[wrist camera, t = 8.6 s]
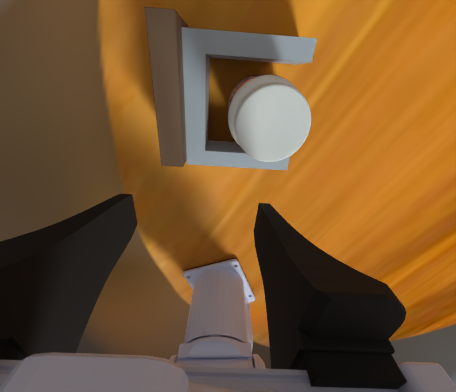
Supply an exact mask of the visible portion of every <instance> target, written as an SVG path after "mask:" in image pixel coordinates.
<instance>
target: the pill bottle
mask: <svg viewBox="0 0 456 392" xmlns="http://www.w3.org/2000/svg"><path fill="white" fill-rule="evenodd" d="M228 125H229V129H230V132H231V135H232V137H233V138H234V140H235V141H236V142H237V143H238V144H239V145H240V146H241V148H242V149H243V150H244V152H245V153H246V154H248V155H249V156H250V157H252V158H254V159H256V160H259V161H264V162H275V161H279V160H282V159H285V158H287V157H289V156H291V155H292V154H293V153H295V152H296V151H297V150H298V149H299V148H300V147H301V145H302V144H303V143H304V141H305V140H306V138H307V136H308V133H309V130H310V125H311V112H310V108H309V104H308V102H307V101H306V99H305V97H304V96H303V95H302V94H301V93H300V92H299V91H298V90H297V89H296V87H295V86H294V85H293V84H292V83H291V82H289V81H288V80H286V79H285V78H282V77H280V76H277V75H269V74H268V75H253V76H249V77H247V78H245V79H243V80H241V81H240V82H239V83H238V84H237V85H236V86H235V87H234V89H233V91H232V93H231V95H230V99H229V106H228Z"/></svg>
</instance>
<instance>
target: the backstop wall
mask: <svg viewBox="0 0 456 392" xmlns="http://www.w3.org/2000/svg"><path fill="white" fill-rule="evenodd" d="M145 15H146V25H147V34H148V43H149V53H150V62H151V72H152V81H153V90H154V100H155V109H156V118H157V128H158V137H159V147H160V156H161V165H162V166H177V167H183V166H184V164H185V162H186V160H187V153H186V127H185V101H184V76H183V50H182V27H186V28H189V27H188V25H187V24H186V23H185V22H184V20H183V19H182V18H181V17H180V15H179V14H178V13H177V12H176V10H174V9H163V8H151V7H145Z"/></svg>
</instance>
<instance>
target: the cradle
mask: <svg viewBox="0 0 456 392" xmlns="http://www.w3.org/2000/svg"><path fill="white" fill-rule="evenodd" d="M316 41H317V38H305V37H294V36H282V35H270V34H258V33H246V32H234V31H222V30H210V29H198V28H186V27H182V50H183V76H184V101H185V127H186V153H187V164H192V165H209V166H225V167H241V168H258V169H274V170H287V167H288V163H289V159H290V156H289V157H287V158H285V159H282V160H279V161H275V162H264V161H259V160H256V159H254V158H252V157H250V156H249V155H248V154H246V153H245V152H244V150H243V149H242V148H241V146H240V145H239V144H238V143H237V142H228V141H213V140H208V123H209V61H210V58H221V59H233V60H246V61H259V62H271V63H284V64H297V65H298V64H303V63H309V62H312V58H313V54H314V49H315V45H316Z"/></svg>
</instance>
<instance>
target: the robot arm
mask: <svg viewBox="0 0 456 392" xmlns="http://www.w3.org/2000/svg"><path fill="white" fill-rule="evenodd" d="M136 226H137V219H136V213H135V208H134V202H133V197H132V194H119V195H117V196H114V197H112V198H110V199H108V200H106V201H104V202H102V203H100V204H98V205H96V206H94V207H92V208H90V209H88V210H86V211H83V212H81V213H79V214H77V215H75V216H72V217H70V218H68V219H66V220H63V221H61V222H58V223H56V224H53V225H51V226H48V227H45V228H43V229H40V230H37V231H34V232H30V233H27V234H24V235H21V236H18V237H15V238H12V239H8V240H4V241H1V242H0V392H456V386H455V384H454V383H453V382H452V380H451V379H450V377H449V376H448V375H447V374H446V372H445V371H444V369H443V368H442V367H441V366H440V364H437V363H424V362H404V363H401V364H398V365H397V364H396V362H395V360H394V359H393V357H392V355H391V354H393V353H394V352H395V351H394V348H393V347H392V345H391V343H390V341H389V340H388V339H389V338H390V337H391V336H392V335H393V334H394V333H395V331H396V330H397V329H398V328H399V327H400V326H401V325H402V323H403V322H404V320H405V316H406V310H405V308H404V306H403V305H402V303H401V302H400V301H399V300H398V298H397V297H396V296H395V294H394V293H393V292H392V290H391V289H390V288H389V287H388V285H387V284H385V283H383V282H380V281H378V280H376V279H374V278H372V277H370V276H367V275H365V274H363V273H361V272H359V271H357V270H355V269H353V268H351V267H349V266H347V265H346V264H344V263H342V262H340V261H338V260H337V259H335V258H333V257H332V256H330V255H329V254H327V253H325V252H324V251H322V250H321V249H319V248H318V247H316V246H315V245H314V244H312V243H311V242H310V241H308V240H307V239H306V238H304V237H303V236H302V235H301V234H300V233H299V232H297V231H296V230H295V229H294V228H293V227H292V226H291V225H290V224H289V223H288V222H287V221H286V220H285V219H284V218H283V217H282V216H281V215H280V214H279V213H278V212H277V211H276V210H275V209H274V208H273V207H272V206H271V205H270V204H266V203H259V205H258V211H257V216H256V222H255V227H254V239H255V248H256V252H257V257H258V261H259V266H260V270H261V275H262V279H263V285H264V292H265V301H266V310H267V320H268V331H269V343H270V356H271V369H265V365H264V362H263V361H262V360H261V358H260V357H259V355H258V354H253V355H252V347H253V336H252V326H251V315H250V305H249V302H253V301H255V296H254V294H253V292H252V290H251V288H250V285H249V283H248V281H247V279H246V277H245V275H244V272H243V270H242V268H241V266H240V264H239V262H238V260H237V259H232V260H228V261H224V262H219V263H215V264H211V265H207V266H203V267H199V268H195V269H191V270H187V271H184V274H183V275H184V277H185V278H186V280H187V281H188V283H189V284H190V286H191V287H192V288H193V294H192V300H191V306H190V312H189V318H188V325H187V331H186V337H185V343H184V344H180V347H179V352H178V355H174V356H172V357H171V358H170V360H167V359H164V358H157V357H151V356H138V355H111V354H109V355H108V354H83V353H81V354H80V353H76V351H77V348H78V345H79V342H80V339H81V337H82V335H83V332H84V330H85V327H86V325H87V322H88V320H89V317H90V315H91V313H92V311H93V308H94V306H95V304H96V301H97V299H98V297H99V295H100V292H101V291H102V288H103V286H104V284H105V282H106V280H107V278H108V276H109V274H110V273H111V271H112V269H113V268H114V266H115V264H116V263H117V261H118V259H119V258H120V256H121V254H122V253H123V251H124V250H125V248H126V246H127V244H128V243H129V241H130V240H131V238H132V235H133V233H134V231H135V228H136Z"/></svg>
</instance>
